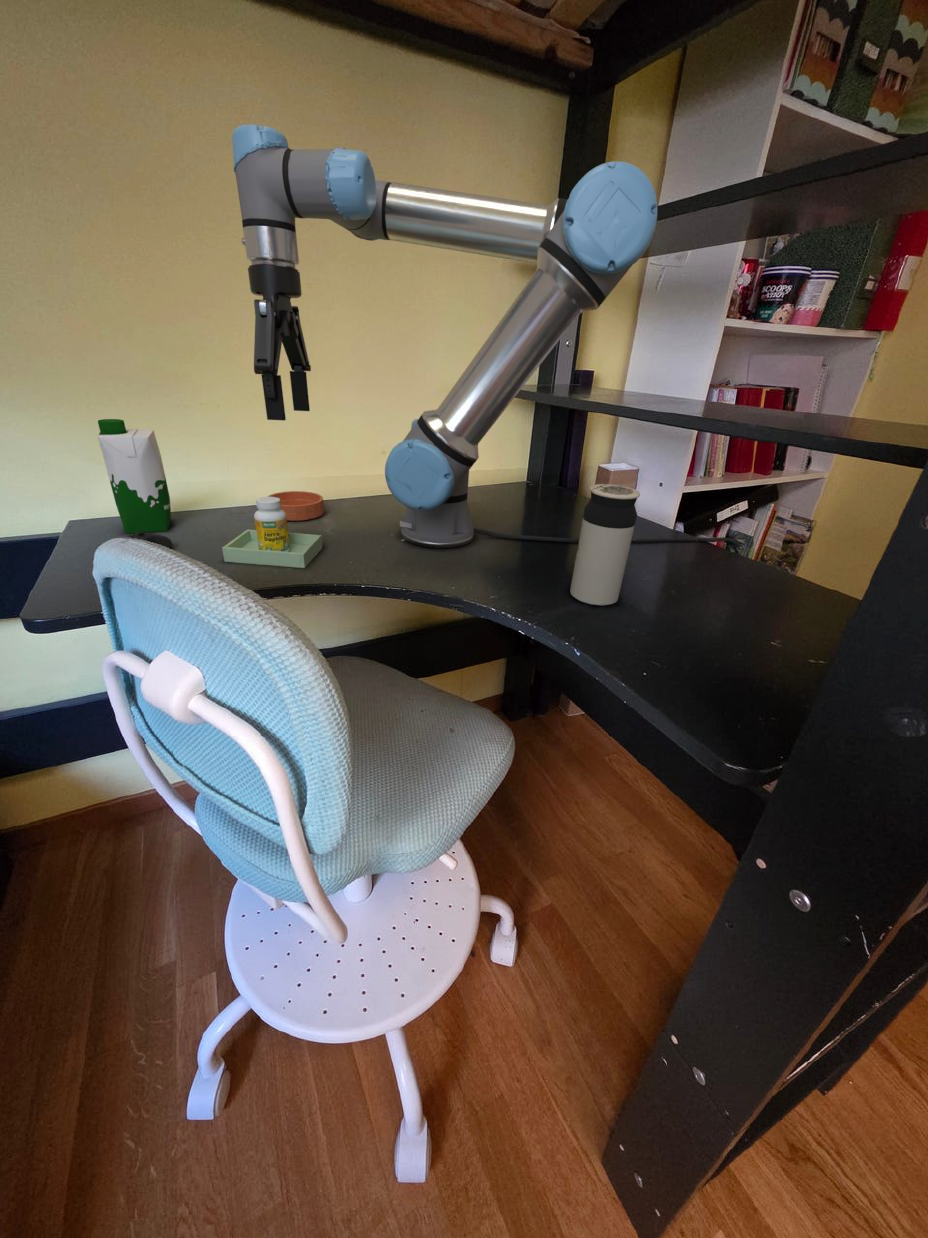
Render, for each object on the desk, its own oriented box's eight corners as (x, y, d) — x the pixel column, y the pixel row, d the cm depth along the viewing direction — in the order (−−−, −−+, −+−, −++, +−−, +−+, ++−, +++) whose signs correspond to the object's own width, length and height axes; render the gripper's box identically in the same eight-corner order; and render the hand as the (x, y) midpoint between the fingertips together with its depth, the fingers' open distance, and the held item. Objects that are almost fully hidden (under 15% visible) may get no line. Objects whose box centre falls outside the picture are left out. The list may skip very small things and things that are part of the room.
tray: (322, 548, 98) (321, 535, 97) (304, 568, 89) (303, 554, 88) (249, 542, 98) (247, 529, 97) (224, 561, 89) (221, 547, 88)
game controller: (139, 561, 84) (109, 534, 83) (124, 580, 87) (94, 553, 85) (177, 542, 93) (150, 517, 91) (162, 559, 95) (136, 535, 94)
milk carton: (127, 521, 104) (100, 416, 95) (177, 519, 107) (155, 417, 98) (119, 535, 97) (89, 424, 88) (173, 532, 100) (150, 424, 91)
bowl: (330, 508, 121) (329, 493, 119) (314, 523, 110) (312, 507, 108) (279, 504, 121) (278, 489, 120) (258, 519, 110) (256, 503, 109)
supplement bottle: (285, 544, 97) (279, 494, 92) (294, 554, 93) (288, 501, 88) (255, 548, 94) (248, 496, 89) (263, 558, 90) (256, 504, 85)
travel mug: (626, 598, 86) (651, 492, 78) (600, 611, 81) (624, 499, 73) (586, 582, 91) (606, 481, 83) (560, 594, 86) (578, 487, 78)
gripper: (276, 275, 89) (291, 406, 99) (211, 250, 67) (238, 423, 77) (319, 277, 89) (329, 408, 99) (269, 253, 67) (288, 425, 77)
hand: (290, 415), depth 88 cm, fingers open, 13 cm apart
